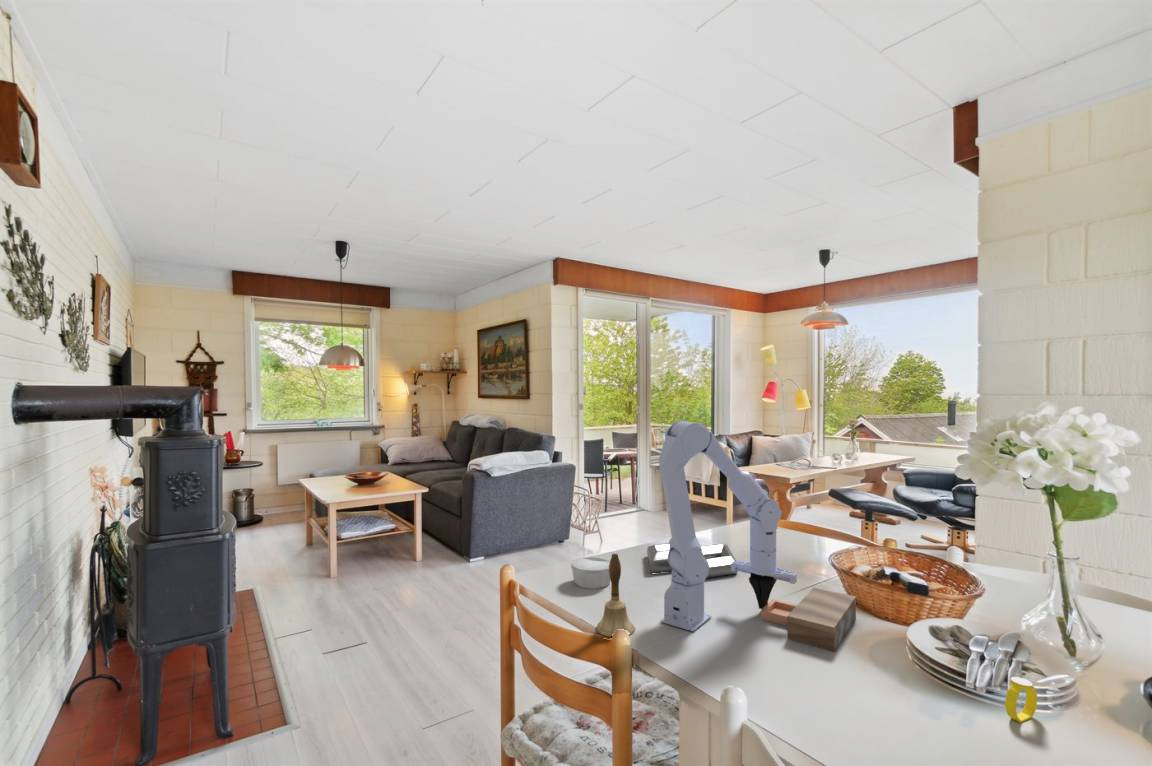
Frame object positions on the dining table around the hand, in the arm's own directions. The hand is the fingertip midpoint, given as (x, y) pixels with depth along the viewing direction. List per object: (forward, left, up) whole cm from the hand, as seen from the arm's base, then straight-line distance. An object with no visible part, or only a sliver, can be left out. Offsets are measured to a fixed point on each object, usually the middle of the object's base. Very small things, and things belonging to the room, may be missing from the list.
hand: (763, 607), depth 127 cm
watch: (-15, -46, -1) cm, 48 cm away
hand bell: (-28, +22, -1) cm, 36 cm away
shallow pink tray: (0, -7, -1) cm, 7 cm away
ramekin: (-9, +42, -1) cm, 43 cm away
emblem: (+20, +28, -2) cm, 34 cm away
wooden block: (0, -13, -1) cm, 13 cm away
